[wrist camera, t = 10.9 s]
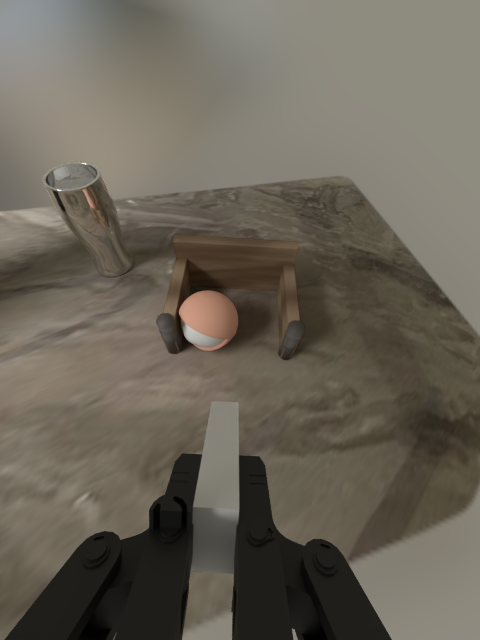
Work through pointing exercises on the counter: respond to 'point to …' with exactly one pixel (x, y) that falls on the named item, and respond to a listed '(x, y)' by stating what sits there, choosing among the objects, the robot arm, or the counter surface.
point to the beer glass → (89, 214)
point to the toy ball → (208, 320)
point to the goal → (233, 280)
